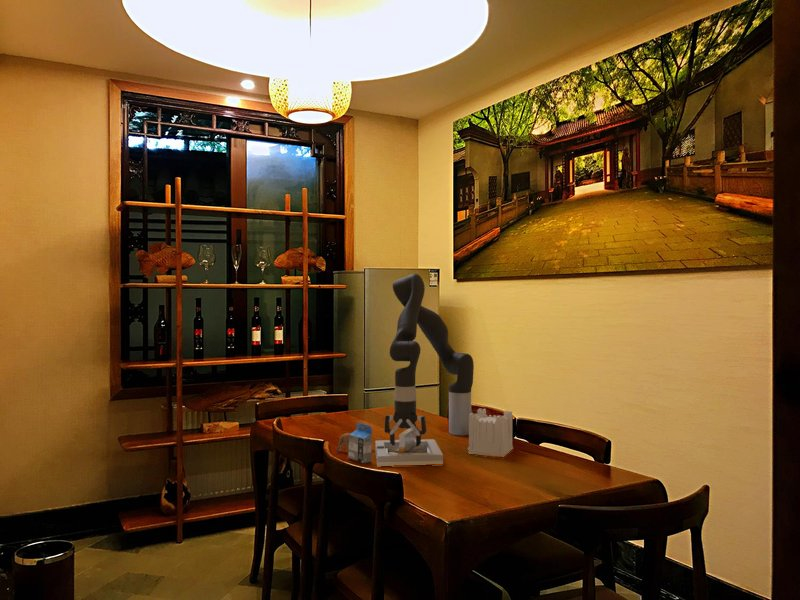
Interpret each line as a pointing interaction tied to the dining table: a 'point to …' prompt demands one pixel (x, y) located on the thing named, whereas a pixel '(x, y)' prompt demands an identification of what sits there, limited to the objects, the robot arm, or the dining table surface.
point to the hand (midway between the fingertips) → (405, 445)
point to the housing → (408, 454)
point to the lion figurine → (345, 441)
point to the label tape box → (360, 444)
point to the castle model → (490, 434)
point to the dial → (407, 444)
